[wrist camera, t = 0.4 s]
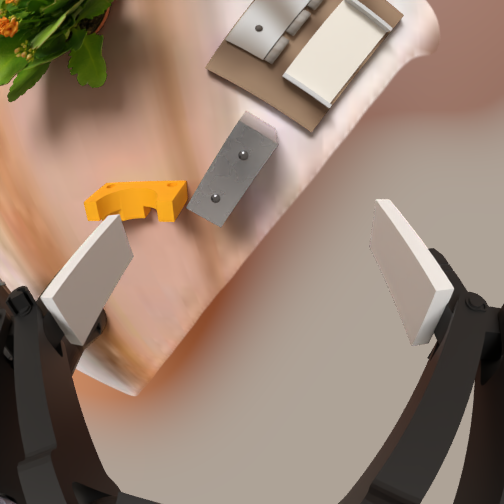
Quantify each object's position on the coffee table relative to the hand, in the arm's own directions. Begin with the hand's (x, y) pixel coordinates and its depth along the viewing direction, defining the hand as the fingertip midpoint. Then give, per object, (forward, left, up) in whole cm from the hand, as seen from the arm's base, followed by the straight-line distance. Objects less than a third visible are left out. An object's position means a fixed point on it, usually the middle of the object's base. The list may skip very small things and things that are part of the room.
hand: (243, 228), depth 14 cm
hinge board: (+11, +10, -22) cm, 26 cm away
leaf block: (-3, -1, -22) cm, 22 cm away
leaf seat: (+13, +7, -20) cm, 25 cm away
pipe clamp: (-17, 0, -22) cm, 28 cm away
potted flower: (-13, +27, -22) cm, 37 cm away
